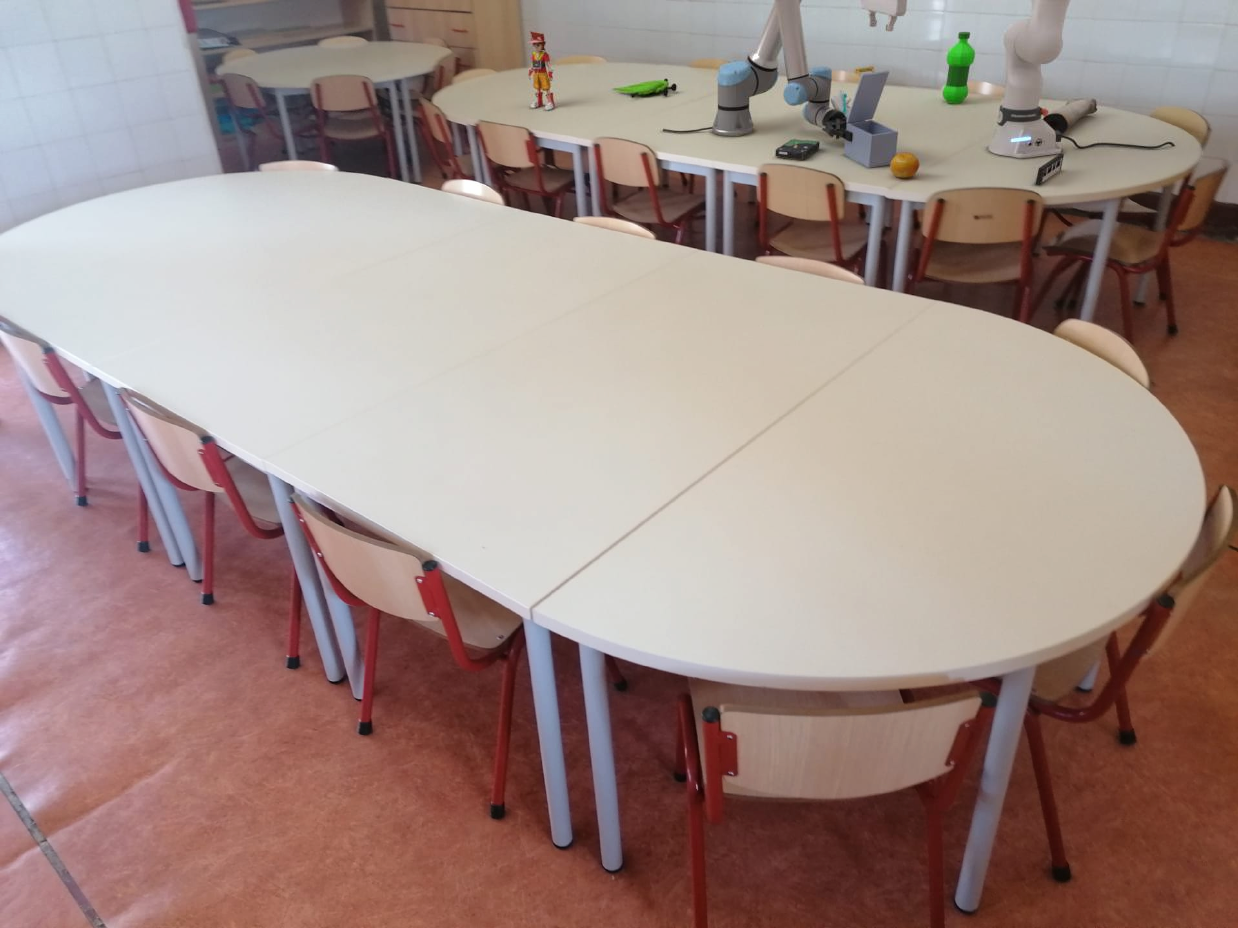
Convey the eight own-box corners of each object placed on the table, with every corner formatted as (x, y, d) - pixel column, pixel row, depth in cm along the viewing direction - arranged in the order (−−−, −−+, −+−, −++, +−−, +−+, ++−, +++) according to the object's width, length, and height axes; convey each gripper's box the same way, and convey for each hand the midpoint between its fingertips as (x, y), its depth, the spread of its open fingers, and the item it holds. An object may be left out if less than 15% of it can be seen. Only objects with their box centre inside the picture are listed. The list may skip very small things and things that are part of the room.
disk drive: (803, 161, 302) (819, 149, 312) (803, 153, 300) (820, 140, 310) (774, 158, 306) (791, 146, 316) (775, 149, 305) (792, 137, 315)
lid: (889, 72, 286) (879, 57, 290) (862, 75, 284) (852, 61, 288) (872, 119, 301) (863, 105, 305) (847, 123, 299) (838, 108, 303)
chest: (894, 164, 294) (898, 131, 288) (868, 168, 292) (871, 135, 286) (868, 151, 307) (872, 120, 301) (844, 154, 305) (846, 123, 300)
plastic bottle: (973, 101, 354) (984, 32, 339) (955, 106, 349) (966, 36, 335) (952, 97, 361) (962, 29, 346) (934, 102, 356) (944, 33, 342)
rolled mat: (1064, 103, 333) (1089, 85, 324) (1077, 124, 333) (1102, 107, 325) (1032, 125, 315) (1057, 107, 307) (1046, 147, 316) (1072, 129, 307)
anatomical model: (825, 90, 346) (851, 83, 346) (828, 117, 352) (853, 110, 352) (836, 99, 334) (863, 92, 333) (839, 127, 340) (865, 120, 339)
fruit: (884, 168, 279) (900, 145, 276) (886, 170, 287) (902, 148, 284) (906, 183, 278) (923, 160, 275) (908, 185, 286) (924, 162, 283)
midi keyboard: (1039, 185, 269) (1043, 168, 266) (1035, 184, 270) (1038, 168, 267) (1060, 170, 279) (1064, 154, 277) (1056, 169, 280) (1060, 153, 277)
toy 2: (686, 85, 398) (631, 84, 414) (685, 72, 395) (629, 72, 411) (651, 104, 381) (596, 103, 397) (650, 92, 378) (594, 91, 394)
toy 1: (525, 109, 381) (517, 32, 364) (534, 104, 388) (527, 28, 371) (550, 110, 377) (543, 32, 360) (559, 105, 384) (553, 28, 367)
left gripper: (858, 127, 321) (892, 142, 304) (802, 135, 316) (834, 151, 299) (860, 105, 317) (895, 119, 299) (803, 113, 312) (836, 128, 294)
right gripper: (915, -19, 262) (908, 32, 270) (877, -26, 279) (872, 23, 286) (896, -17, 261) (890, 35, 269) (859, -24, 277) (855, 25, 285)
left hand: (865, 135), depth 299 cm, fingers closed on chest, 10 cm apart
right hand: (880, 29), depth 278 cm, fingers open, 8 cm apart
